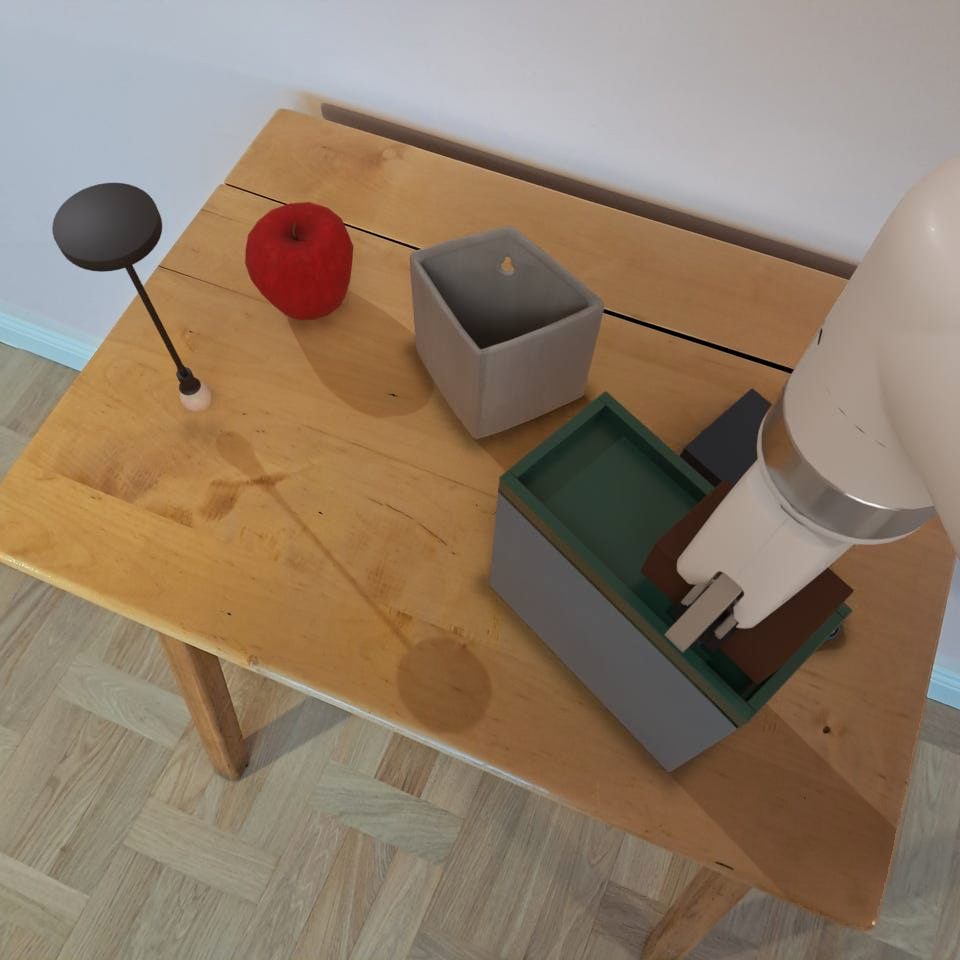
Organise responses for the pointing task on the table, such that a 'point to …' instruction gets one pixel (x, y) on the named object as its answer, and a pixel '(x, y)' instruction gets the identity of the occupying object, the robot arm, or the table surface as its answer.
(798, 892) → the table surface
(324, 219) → the apple
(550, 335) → the planter
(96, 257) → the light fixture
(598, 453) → the box
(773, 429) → the robot arm
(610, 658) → the stand
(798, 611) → the brown block
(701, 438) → the dark grey rectangular block
